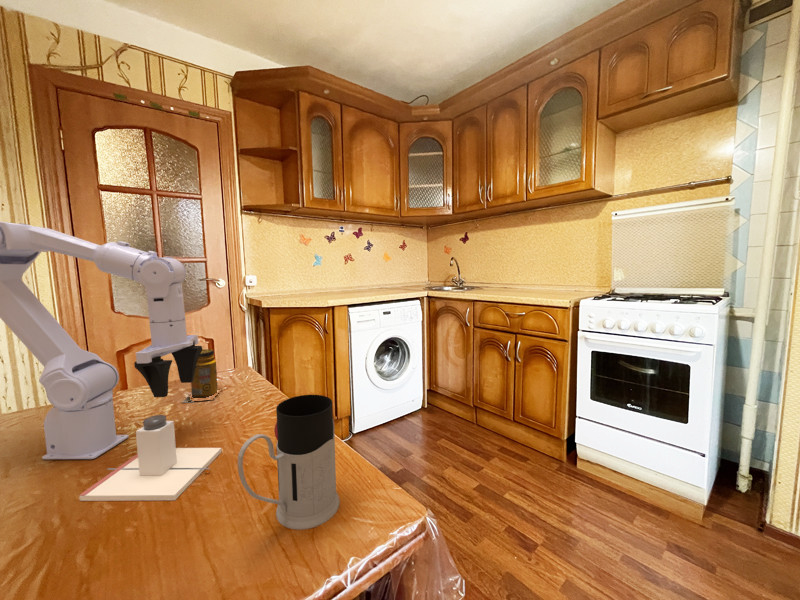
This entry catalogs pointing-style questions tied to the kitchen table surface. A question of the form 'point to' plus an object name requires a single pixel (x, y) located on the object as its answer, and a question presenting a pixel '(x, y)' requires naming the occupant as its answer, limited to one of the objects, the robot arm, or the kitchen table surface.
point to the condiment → (204, 376)
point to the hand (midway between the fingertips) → (174, 389)
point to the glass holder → (302, 462)
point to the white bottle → (156, 446)
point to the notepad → (152, 478)
